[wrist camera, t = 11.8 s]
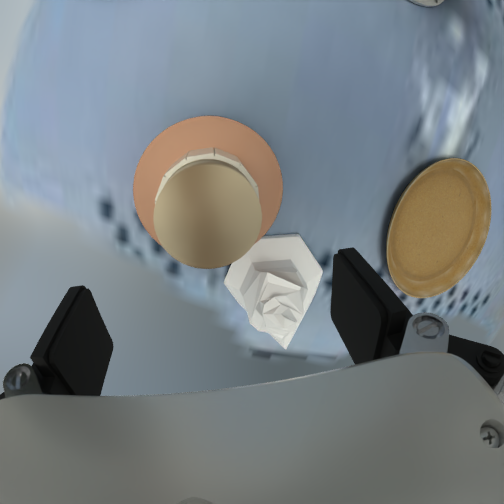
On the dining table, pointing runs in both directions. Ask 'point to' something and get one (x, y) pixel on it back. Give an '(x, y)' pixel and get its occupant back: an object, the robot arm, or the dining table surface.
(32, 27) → the dining table surface
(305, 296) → the soft serve ice cream
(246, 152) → the orange jar
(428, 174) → the plant saucer
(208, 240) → the stopper
